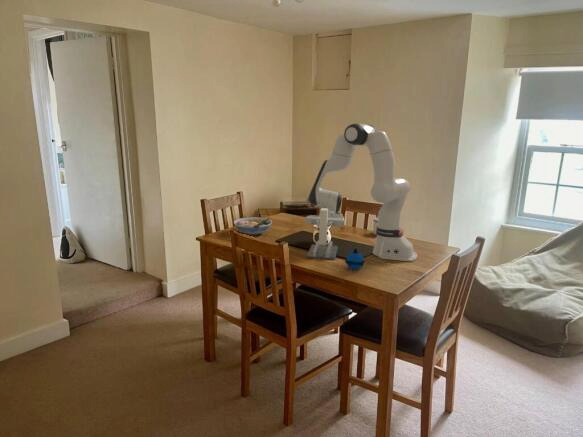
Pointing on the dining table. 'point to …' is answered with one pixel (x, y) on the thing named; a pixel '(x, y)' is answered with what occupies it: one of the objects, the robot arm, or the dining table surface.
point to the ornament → (354, 260)
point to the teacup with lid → (375, 225)
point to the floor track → (322, 251)
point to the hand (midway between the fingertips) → (323, 224)
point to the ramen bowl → (252, 225)
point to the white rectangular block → (323, 226)
